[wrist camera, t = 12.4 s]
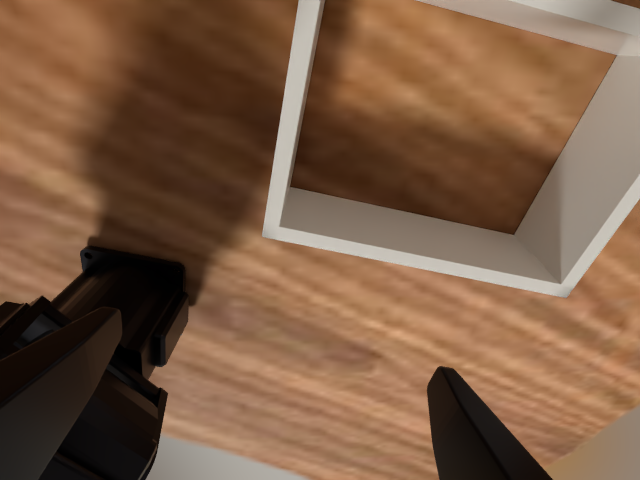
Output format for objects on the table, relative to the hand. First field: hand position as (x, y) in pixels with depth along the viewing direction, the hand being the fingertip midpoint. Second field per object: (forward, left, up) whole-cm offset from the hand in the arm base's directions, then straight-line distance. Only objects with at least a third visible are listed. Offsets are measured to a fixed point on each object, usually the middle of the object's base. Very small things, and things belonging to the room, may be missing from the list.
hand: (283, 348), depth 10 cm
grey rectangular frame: (+6, +5, -12) cm, 14 cm away
